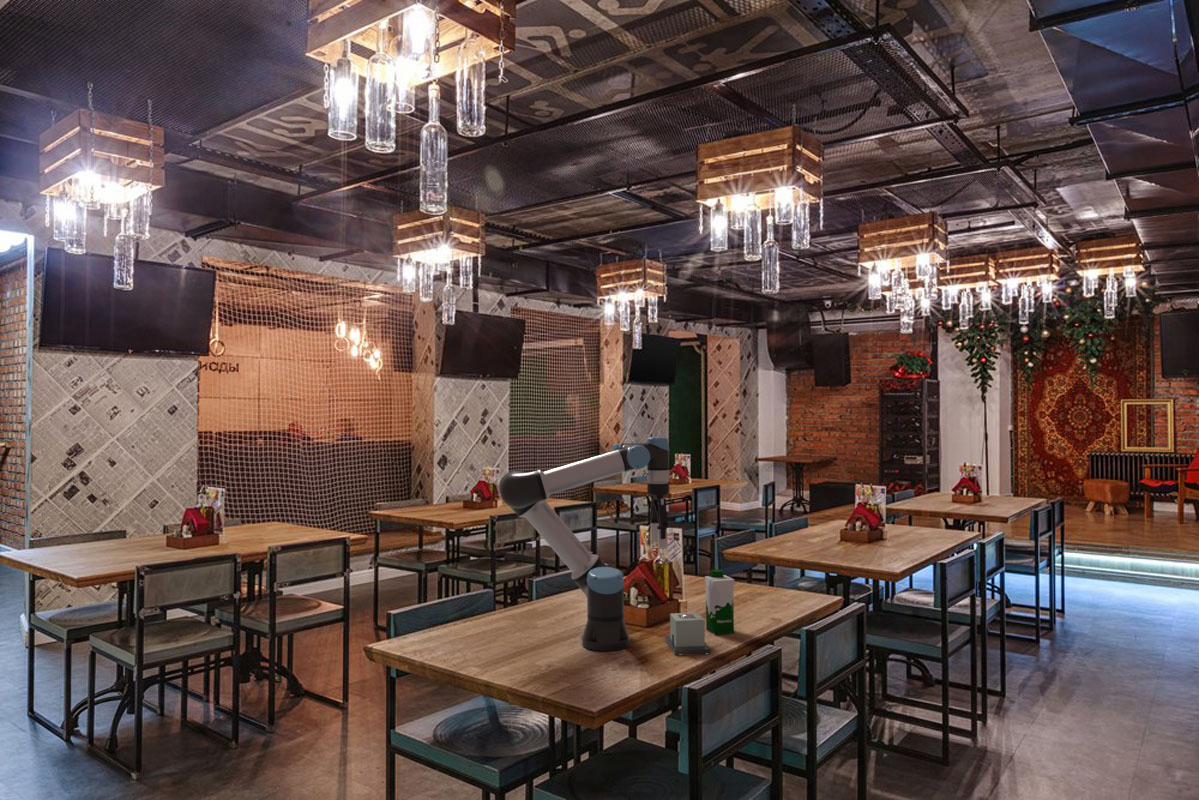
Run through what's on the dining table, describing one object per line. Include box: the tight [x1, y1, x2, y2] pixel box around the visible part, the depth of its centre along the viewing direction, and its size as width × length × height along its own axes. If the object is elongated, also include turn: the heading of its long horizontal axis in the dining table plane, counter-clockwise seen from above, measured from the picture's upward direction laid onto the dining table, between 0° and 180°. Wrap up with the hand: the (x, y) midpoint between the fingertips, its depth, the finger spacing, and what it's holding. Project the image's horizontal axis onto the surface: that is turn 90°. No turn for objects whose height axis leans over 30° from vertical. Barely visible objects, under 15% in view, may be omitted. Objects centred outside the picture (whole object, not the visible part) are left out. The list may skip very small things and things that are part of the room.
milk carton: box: [704, 569, 735, 636], centre depth 263 cm, size 9×9×20 cm
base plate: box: [664, 614, 712, 656], centre depth 246 cm, size 11×16×10 cm
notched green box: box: [669, 612, 706, 647], centre depth 246 cm, size 9×9×8 cm
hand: (658, 545), depth 265 cm, fingers open, 13 cm apart
